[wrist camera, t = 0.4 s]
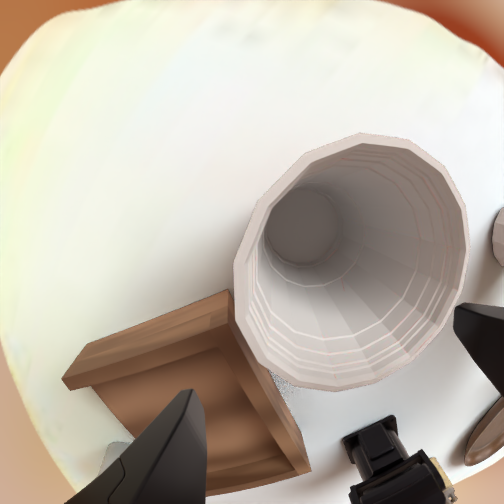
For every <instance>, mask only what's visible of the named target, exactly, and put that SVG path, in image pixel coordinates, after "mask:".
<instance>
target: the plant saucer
mask: <svg viewBox="0 0 504 504" xmlns="http://www.w3.org/2000/svg"><path fill="white" fill-rule="evenodd" d="M503 446H504V398H503V397H501V398H500V399H499V400H498V401H497V402H496V403H495V404H494V405H493V407H492V408H491V409H490V410H489V411H488V412H487V413H486V415H485V416H484V417H483V419H482V420H481V421H480V423H479V424H478V425H477V427H476V428H475V430H474V431H473V433H472V435H471V436H470V439H469V441H468V444H467V447H466V451H465V457H464V463H465V465H466V466H473V465H476V464H478V463H480V462H482V461H484V460H486V459H487V458H489V457H490V456H491V455H493V454H494V453H496V452H497V451H498V450H499V449H501V448H502V447H503Z"/></svg>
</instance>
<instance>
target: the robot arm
mask: <svg viewBox="0 0 504 504" xmlns="http://www.w3.org/2000/svg"><path fill="white" fill-rule="evenodd" d="M453 329H454V332H455V334H456V335H457V337H458V338H459V340H460V341H461V343H462V344H463V345H464V347H465V348H466V350H467V351H468V353H469V354H470V356H471V357H472V359H473V360H474V362H475V363H476V364H477V365H478V367H479V368H480V369H481V370H482V371H483V373H484V374H485V375H486V376H487V378H488V379H489V380H490V381H491V383H492V384H493V385H494V386H495V388H496V389H497V390H498V391H499V393H500V394H501V395H502V397H503V398H504V307H497V306H488V305H480V304H472V303H462V304H460V305H458V306H456V307H455V310H454V323H453ZM343 442H344V445H345V448H346V450H347V453H348V455H349V458H350V461H351V463H352V464H356V466H357V468H358V470H359V473H360V475H361V478H362V480H363V482H361V483H359V484H357V485H353V486H351V487H350V489H351V492H350V493H349V494H348V495H349V498H350V501H351V504H446V497H445V495H444V493H443V491H444V490H446V486H445V483H444V481H443V478H442V476H441V475H440V473H439V471H438V470H437V468H436V467H435V466H434V464H433V463H432V462H431V460H430V459H429V458H428V456H427V455H426V454H425V452H424V451H423V450H422V449H421V450H419V451H418V452H417V453H416V454H414V455H412V456H411V457H409V455H408V453H407V451H406V450H405V448H404V446H403V445H402V443H401V441H400V440H399V438H398V431H397V423H396V418H395V416H394V415H391V416H389V417H387V418H385V419H383V420H381V421H379V422H377V423H375V424H373V425H371V426H369V427H367V428H364V429H362V430H360V431H358V432H356V433H353V434H351V435H349V436H346V437H345V438H343ZM119 457H120V458H119ZM119 457H118V458H117V459H116V460H115V461H114V462H113V463H112V464H111V465H110V466H109V467H108V468H107V469H106V470H104V471H103V472H102V473H101V474H100V475H99V476H98V477H97V478H96V479H94V480H93V481H92V482H91V483H90V484H88V485H87V486H86V487H85V488H83V489H82V490H81V491H80V492H78V493H77V494H76V495H75V496H73V497H72V498H71V499H69V500H68V501H67V502H66V503H64V504H205V498H206V474H207V439H206V426H205V413H204V408H203V406H202V404H201V402H200V399H199V397H198V395H197V393H196V391H195V390H194V389H192V388H190V389H184V390H181V391H180V392H179V393H178V394H177V395H176V396H175V397H174V398H173V399H172V400H171V401H170V403H169V404H168V405H167V406H166V407H165V408H164V409H163V410H162V411H161V412H160V413H159V414H158V416H157V417H156V418H155V419H154V420H153V421H152V422H151V423H150V424H149V425H148V426H147V427H146V428H145V429H144V431H143V432H142V433H141V434H140V435H139V436H138V437H137V438H136V439H135V440H134V441H133V442H132V443H131V444H130V445H129V446H128V447H127V448H126V449H125V450H124V451H123V452H122V454H121V455H120V456H119Z"/></svg>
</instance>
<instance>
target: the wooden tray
mask: <svg viewBox="0 0 504 504" xmlns="http://www.w3.org/2000/svg"><path fill="white" fill-rule="evenodd" d="M62 381H63V382H64V383H65V385H66V386H67V387H68V389H69V390H70V391H72V390H76V389H80V388H84V387H88V386H91V387H92V388H93V389H94V391H95V392H96V393H97V394H98V396H99V397H100V398H101V399H102V401H103V402H104V403H105V404H106V406H107V407H108V408H109V409H110V410H111V412H112V413H113V414H114V415H115V416H116V418H117V419H118V420H119V421H120V422H121V423H122V424H123V425H124V427H125V428H126V429H127V430H128V431H129V432H130V433H131V434H132V435H133V436H134V438H135V439H136V438H137V437H138V436H139V435H140V434H141V433H142V432H143V431H144V429H145V428H146V427H147V426H148V425H149V424H150V423H151V422H152V421H153V420H154V419H155V418H156V417H157V416H158V414H159V413H160V412H161V411H162V410H163V409H164V408H165V407H166V406H167V405H168V404H169V403H170V401H171V400H172V399H173V398H174V397H175V396H176V395H177V394H178V393H179V392H180V391H181V390H184V389H190V388H192V389H194V390H195V391H196V393H197V395H198V397H199V399H200V402H201V404H202V406H203V408H204V413H205V426H206V439H207V474H206V497H208V496H214V495H220V494H226V493H231V492H236V491H241V490H246V489H250V488H255V487H259V486H263V485H267V484H271V483H275V482H278V481H282V480H285V479H289V478H292V477H295V476H299V475H302V474H305V473H308V472H311V467H310V464H309V460H308V456H307V453H306V449H305V445H304V442H303V438H302V434H301V432H300V430H299V428H298V426H297V424H296V422H295V420H294V419H293V417H292V415H291V413H290V411H289V409H288V407H287V405H286V404H285V402H284V400H283V398H282V396H281V394H280V392H279V390H278V388H277V386H276V384H275V382H274V381H273V379H272V377H271V375H270V373H269V371H268V369H267V368H266V367H264V366H263V365H261V364H260V363H258V361H257V359H256V357H255V356H254V354H253V352H252V350H251V348H250V347H249V345H248V343H247V341H246V339H245V337H244V336H243V334H242V332H241V330H240V328H239V326H238V325H237V323H236V321H235V302H234V300H233V298H232V296H231V294H230V292H229V290H228V289H227V290H224V291H222V292H220V293H217V294H215V295H212V296H210V297H207V298H205V299H202V300H200V301H197V302H195V303H192V304H190V305H187V306H185V307H182V308H180V309H177V310H175V311H172V312H169V313H167V314H164V315H162V316H159V317H157V318H154V319H151V320H149V321H146V322H144V323H141V324H139V325H136V326H133V327H131V328H128V329H125V330H123V331H120V332H118V333H115V334H112V335H110V336H107V337H104V338H102V339H99V340H96V341H94V342H91V343H88V344H86V346H85V347H84V348H83V350H82V351H81V352H80V354H79V355H78V356H77V358H76V359H75V360H74V362H73V363H72V365H71V366H70V367H69V369H68V370H67V372H66V373H65V374H64V376H63V377H62Z"/></svg>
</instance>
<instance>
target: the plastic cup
mask: <svg viewBox="0 0 504 504" xmlns="http://www.w3.org/2000/svg"><path fill="white" fill-rule="evenodd" d="M469 254H470V238H469V228H468V220H467V213H466V206H465V203H464V201H463V199H462V197H461V195H460V193H459V191H458V189H457V188H456V186H455V184H454V182H453V180H452V178H451V176H450V175H449V173H448V171H447V169H446V168H445V166H444V165H442V164H441V163H440V162H439V161H437V160H436V159H435V158H433V157H432V156H431V155H429V154H428V153H427V152H425V151H424V150H423V149H421V148H420V147H419V146H417V145H416V144H414V143H413V142H412V141H410V140H408V139H401V138H395V137H389V136H382V135H374V134H366V133H358V134H355V135H352V136H349V137H347V138H344V139H341V140H338V141H335V142H333V143H330V144H327V145H325V146H322V147H319V148H317V149H314V150H312V151H309V152H306V153H305V154H304V155H303V156H301V157H300V158H299V159H298V160H297V161H296V162H295V163H294V164H293V165H292V166H291V167H290V169H289V170H288V171H287V172H286V173H285V174H284V175H283V176H282V177H281V178H280V179H279V180H278V181H277V182H276V183H275V184H274V185H273V186H272V187H271V188H270V189H269V190H268V191H267V192H266V193H265V194H264V195H263V196H262V197H261V198H260V199H259V200H258V202H257V204H256V207H255V209H254V212H253V214H252V217H251V219H250V222H249V224H248V227H247V229H246V232H245V234H244V237H243V239H242V242H241V244H240V247H239V249H238V252H237V254H236V257H235V259H234V262H233V272H234V301H235V321H236V323H237V325H238V326H239V328H240V330H241V332H242V334H243V336H244V337H245V339H246V341H247V343H248V345H249V347H250V348H251V350H252V352H253V354H254V356H255V357H256V359H257V361H258V363H260V364H261V365H263V366H264V367H266V368H267V369H269V370H270V371H272V372H273V373H275V374H276V375H278V376H279V377H281V378H282V379H284V380H285V381H287V382H288V383H290V384H292V385H293V386H296V387H303V388H309V389H316V390H323V391H330V392H338V391H343V390H347V389H352V388H356V387H361V386H365V385H369V384H373V383H376V382H378V381H380V380H382V379H383V378H385V377H387V376H389V375H390V374H392V373H394V372H395V371H397V370H399V369H400V368H402V367H404V366H405V365H407V364H409V363H410V362H412V361H413V360H414V359H415V358H416V357H417V356H418V355H419V354H420V353H421V352H422V351H423V350H424V349H425V348H426V347H427V345H428V344H429V343H430V342H431V341H432V340H433V339H434V338H435V337H436V336H437V335H438V333H439V332H440V331H441V330H442V329H443V327H444V325H445V323H446V321H447V319H448V318H449V316H450V314H451V312H452V310H453V308H454V306H455V304H456V302H457V300H458V298H459V296H460V294H461V292H462V289H463V284H464V280H465V275H466V270H467V265H468V260H469Z"/></svg>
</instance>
